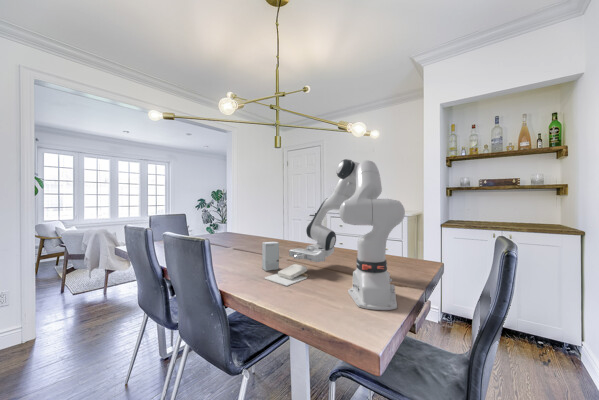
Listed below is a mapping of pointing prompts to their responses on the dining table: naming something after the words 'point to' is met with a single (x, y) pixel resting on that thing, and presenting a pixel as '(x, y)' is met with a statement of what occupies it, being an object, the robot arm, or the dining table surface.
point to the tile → (292, 271)
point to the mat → (284, 279)
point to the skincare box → (270, 256)
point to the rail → (304, 275)
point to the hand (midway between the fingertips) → (295, 257)
